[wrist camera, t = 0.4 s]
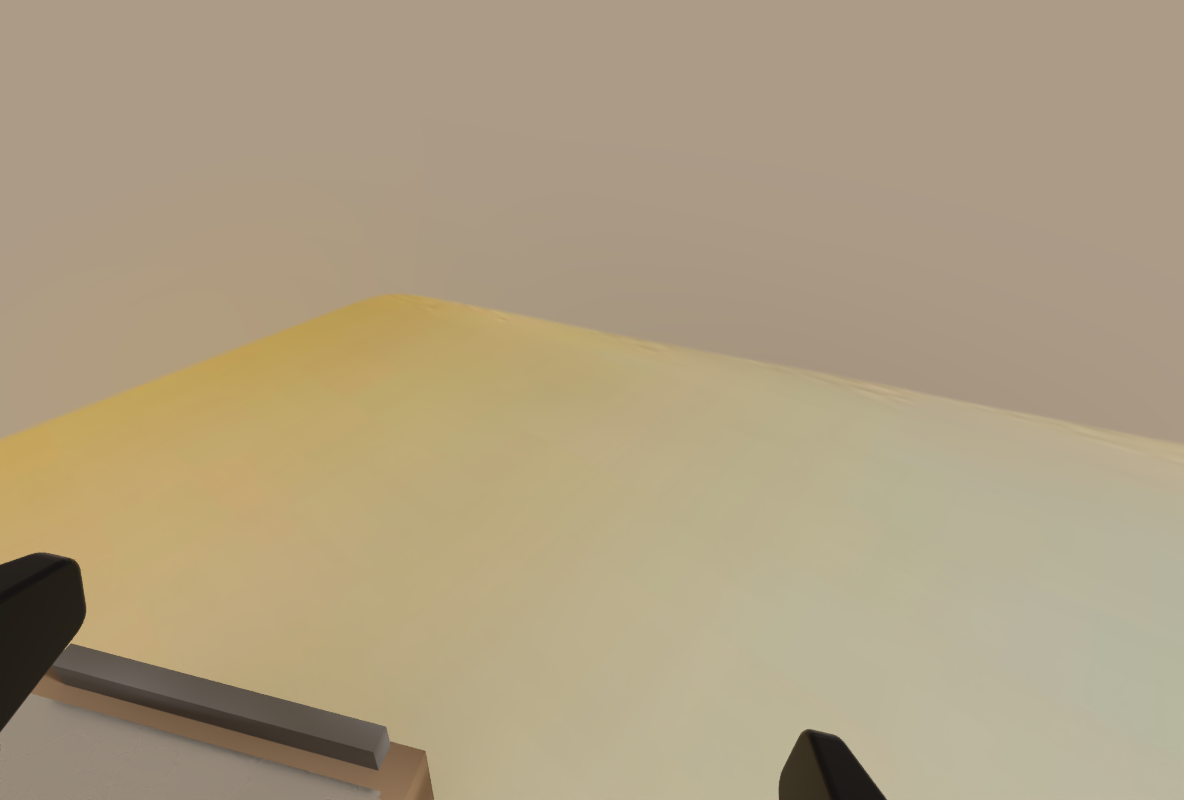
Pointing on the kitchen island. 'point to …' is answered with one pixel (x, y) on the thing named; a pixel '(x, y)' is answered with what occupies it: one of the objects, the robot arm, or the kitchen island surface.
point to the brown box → (239, 721)
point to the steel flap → (139, 763)
